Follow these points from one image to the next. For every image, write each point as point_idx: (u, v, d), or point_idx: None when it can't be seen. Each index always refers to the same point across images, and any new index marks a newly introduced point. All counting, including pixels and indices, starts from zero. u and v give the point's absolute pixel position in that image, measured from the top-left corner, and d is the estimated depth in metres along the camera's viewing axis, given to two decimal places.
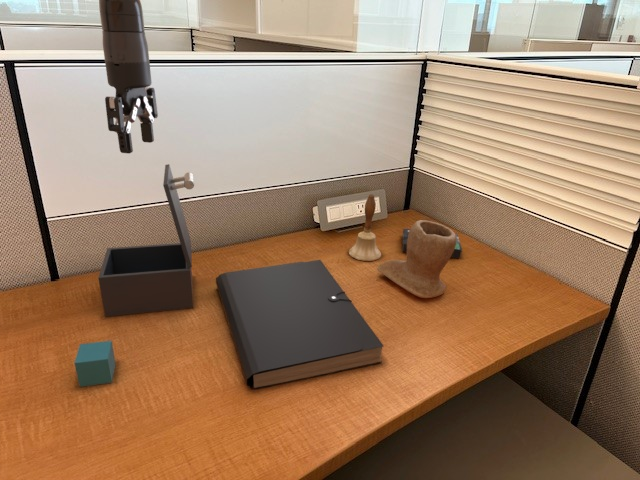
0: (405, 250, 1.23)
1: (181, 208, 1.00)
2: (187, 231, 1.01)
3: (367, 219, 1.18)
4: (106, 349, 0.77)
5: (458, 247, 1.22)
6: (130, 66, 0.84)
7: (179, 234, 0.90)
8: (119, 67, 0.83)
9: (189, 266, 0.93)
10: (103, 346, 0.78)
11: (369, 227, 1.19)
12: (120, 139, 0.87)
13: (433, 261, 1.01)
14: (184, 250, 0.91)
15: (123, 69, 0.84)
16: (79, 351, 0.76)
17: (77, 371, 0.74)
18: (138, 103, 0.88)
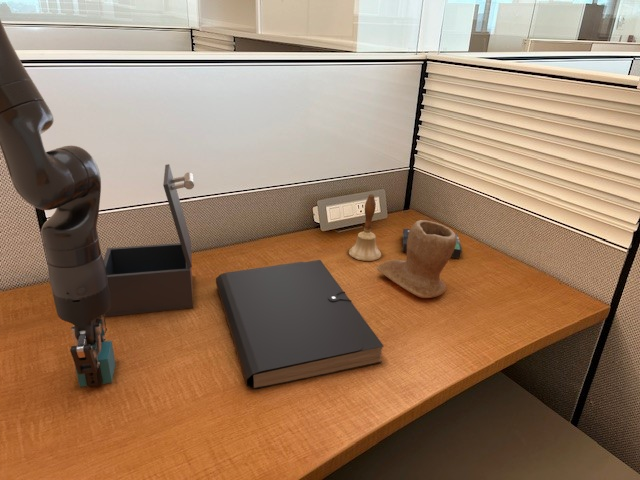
0: (405, 250, 1.23)
1: (181, 208, 1.00)
2: (187, 231, 1.01)
3: (367, 219, 1.18)
4: (106, 349, 0.77)
5: (458, 247, 1.22)
6: (93, 298, 0.69)
7: (179, 234, 0.90)
8: (80, 303, 0.68)
9: (189, 266, 0.93)
10: (103, 346, 0.78)
11: (369, 227, 1.19)
12: (89, 376, 0.74)
13: (433, 261, 1.01)
14: (184, 250, 0.91)
15: (85, 303, 0.69)
16: None
17: (77, 371, 0.74)
18: (100, 329, 0.73)
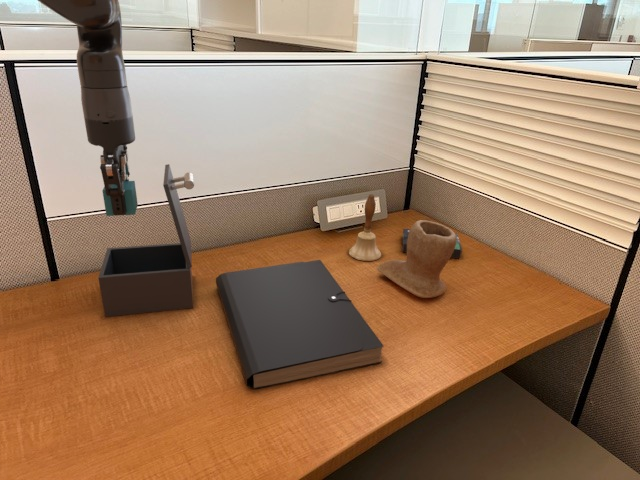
0: (405, 250, 1.23)
1: (181, 208, 1.00)
2: (187, 231, 1.01)
3: (367, 219, 1.18)
4: (130, 184, 0.86)
5: (458, 247, 1.22)
6: (120, 123, 0.78)
7: (179, 234, 0.90)
8: (108, 125, 0.77)
9: (189, 266, 0.93)
10: (127, 183, 0.87)
11: (369, 227, 1.19)
12: (115, 202, 0.83)
13: (433, 261, 1.01)
14: (184, 250, 0.91)
15: (113, 126, 0.78)
16: None
17: (105, 199, 0.83)
18: (125, 160, 0.82)
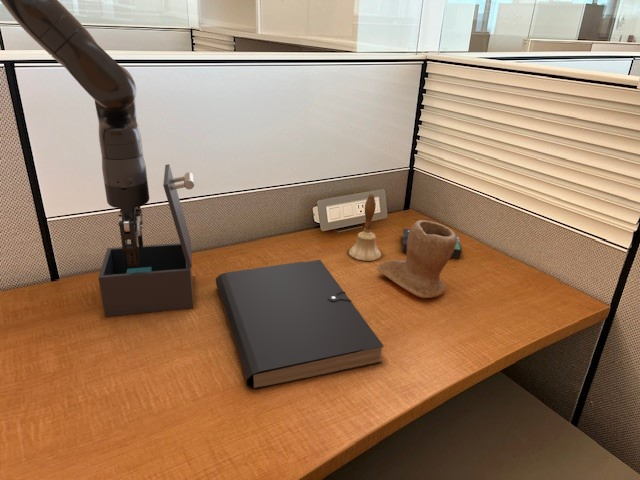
0: (405, 250, 1.23)
1: (181, 208, 1.00)
2: (187, 231, 1.01)
3: (367, 219, 1.18)
4: None
5: (458, 247, 1.22)
6: (137, 188, 0.87)
7: (179, 234, 0.90)
8: (127, 191, 0.86)
9: (189, 266, 0.93)
10: (146, 270, 0.99)
11: (369, 227, 1.19)
12: (130, 256, 0.90)
13: (433, 261, 1.01)
14: (184, 250, 0.91)
15: (131, 191, 0.87)
16: None
17: None
18: (140, 218, 0.91)
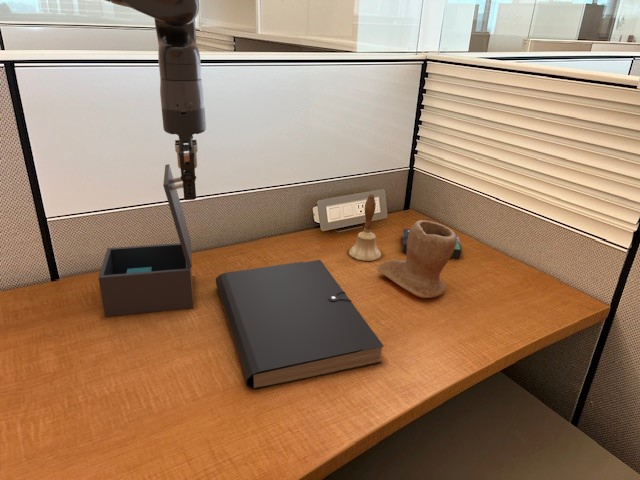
0: (405, 250, 1.23)
1: (181, 208, 1.00)
2: (187, 231, 1.01)
3: (367, 219, 1.18)
4: None
5: (458, 247, 1.22)
6: (196, 113, 0.84)
7: (179, 234, 0.90)
8: (186, 115, 0.83)
9: (189, 266, 0.93)
10: (146, 270, 0.99)
11: (369, 227, 1.19)
12: (187, 187, 0.89)
13: (433, 261, 1.01)
14: (184, 250, 0.91)
15: (190, 116, 0.84)
16: None
17: None
18: None
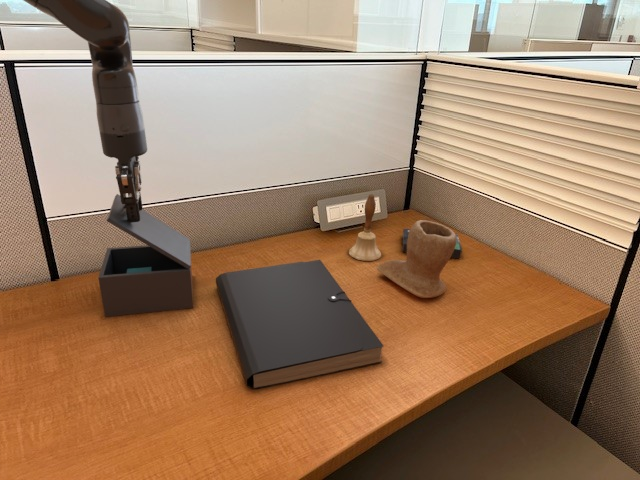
0: (405, 250, 1.23)
1: (158, 221, 0.99)
2: (178, 235, 1.01)
3: (367, 219, 1.18)
4: None
5: (458, 247, 1.22)
6: (134, 136, 0.83)
7: (156, 248, 0.90)
8: (123, 138, 0.82)
9: (188, 267, 0.93)
10: (146, 270, 0.99)
11: (369, 227, 1.19)
12: (130, 210, 0.88)
13: (433, 261, 1.01)
14: (172, 257, 0.91)
15: (127, 139, 0.83)
16: None
17: None
18: (138, 170, 0.88)
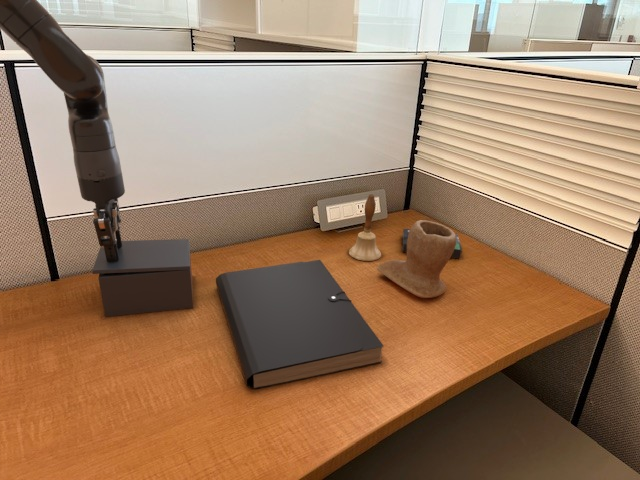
0: (405, 250, 1.23)
1: (150, 241, 1.01)
2: (174, 243, 1.01)
3: (367, 219, 1.18)
4: None
5: (458, 247, 1.22)
6: (110, 180, 0.85)
7: (149, 270, 0.91)
8: (100, 183, 0.85)
9: (188, 268, 0.93)
10: None
11: (369, 227, 1.19)
12: (108, 250, 0.90)
13: (433, 261, 1.01)
14: (168, 269, 0.92)
15: (104, 184, 0.85)
16: None
17: None
18: (116, 211, 0.90)
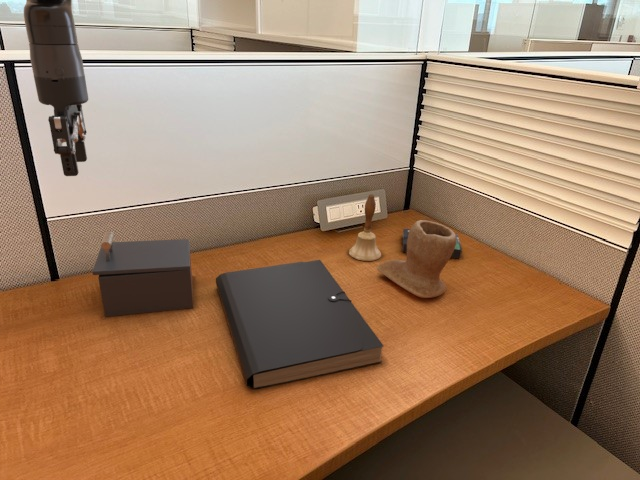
0: (405, 250, 1.23)
1: (150, 242, 1.01)
2: (174, 243, 1.01)
3: (367, 219, 1.18)
4: None
5: (458, 248, 1.22)
6: (70, 81, 0.77)
7: (149, 270, 0.91)
8: (58, 83, 0.76)
9: (188, 268, 0.93)
10: None
11: (369, 227, 1.19)
12: (65, 161, 0.80)
13: (433, 261, 1.01)
14: (168, 269, 0.92)
15: (63, 85, 0.77)
16: None
17: None
18: (78, 120, 0.81)
